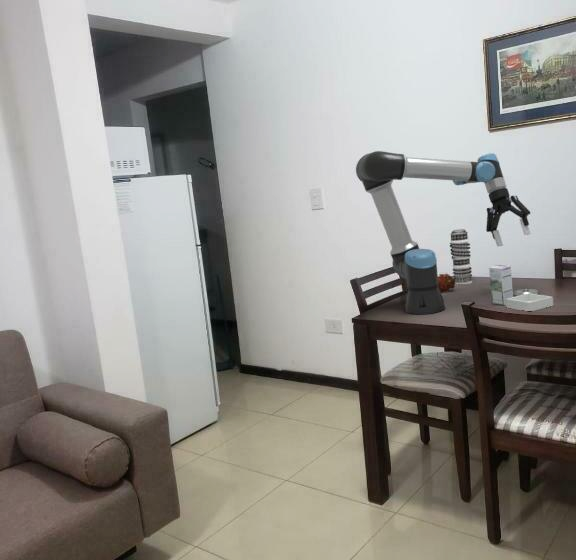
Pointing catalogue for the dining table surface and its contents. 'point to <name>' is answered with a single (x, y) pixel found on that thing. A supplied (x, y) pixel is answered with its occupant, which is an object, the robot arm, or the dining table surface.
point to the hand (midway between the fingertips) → (513, 240)
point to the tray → (529, 302)
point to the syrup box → (500, 283)
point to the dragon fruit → (445, 282)
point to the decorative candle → (460, 257)
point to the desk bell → (525, 292)
